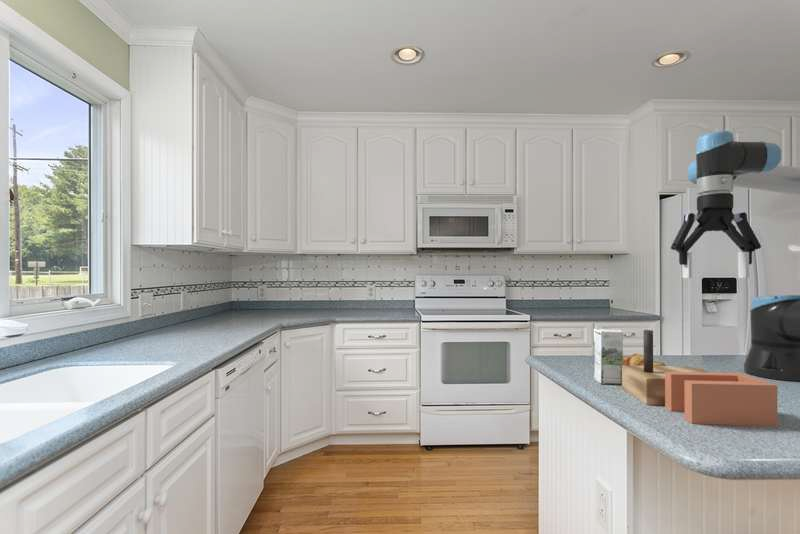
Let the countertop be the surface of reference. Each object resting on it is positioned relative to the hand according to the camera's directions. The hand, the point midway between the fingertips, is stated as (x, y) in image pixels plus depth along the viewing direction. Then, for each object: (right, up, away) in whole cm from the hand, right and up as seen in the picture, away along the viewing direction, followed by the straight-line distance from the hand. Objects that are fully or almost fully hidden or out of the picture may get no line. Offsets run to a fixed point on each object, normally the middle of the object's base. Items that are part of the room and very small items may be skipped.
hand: (715, 277), depth 108 cm
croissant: (-11, -29, +13) cm, 34 cm away
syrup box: (-23, -29, +8) cm, 38 cm away
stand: (-15, -29, -6) cm, 33 cm away
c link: (-13, -29, -19) cm, 37 cm away
